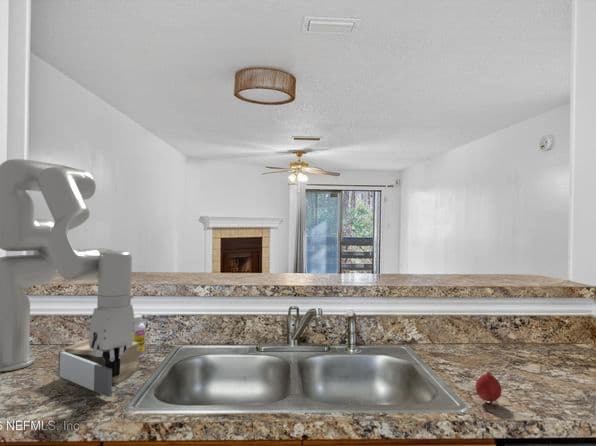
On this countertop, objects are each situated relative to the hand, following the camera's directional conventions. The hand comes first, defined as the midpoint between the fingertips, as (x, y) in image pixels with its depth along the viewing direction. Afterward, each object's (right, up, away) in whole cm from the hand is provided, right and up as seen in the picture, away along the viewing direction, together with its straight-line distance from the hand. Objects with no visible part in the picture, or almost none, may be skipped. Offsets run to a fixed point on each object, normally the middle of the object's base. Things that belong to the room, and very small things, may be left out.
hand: (112, 375), depth 102 cm
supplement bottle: (-6, -5, +28) cm, 29 cm away
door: (-8, -3, +2) cm, 9 cm away
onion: (+93, -7, 0) cm, 93 cm away
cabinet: (-9, -4, +13) cm, 16 cm away
